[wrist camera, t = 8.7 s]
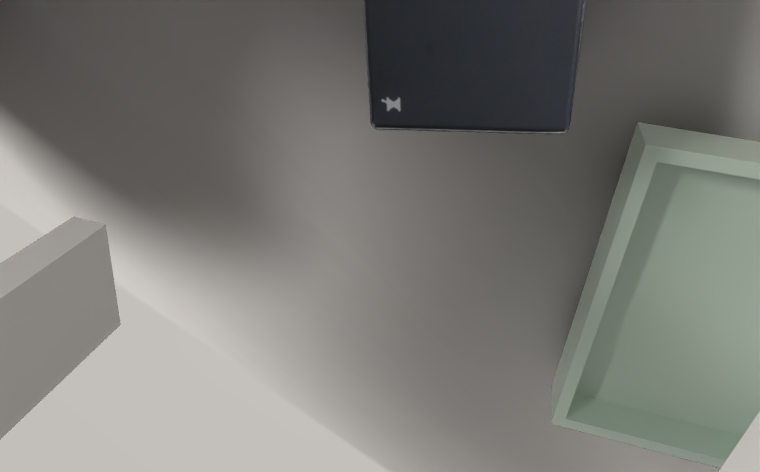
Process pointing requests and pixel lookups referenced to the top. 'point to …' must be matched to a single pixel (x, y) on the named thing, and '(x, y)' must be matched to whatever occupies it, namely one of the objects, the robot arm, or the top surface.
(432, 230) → the top surface
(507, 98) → the small box
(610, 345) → the green footed tray
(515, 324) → the top surface
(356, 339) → the top surface
